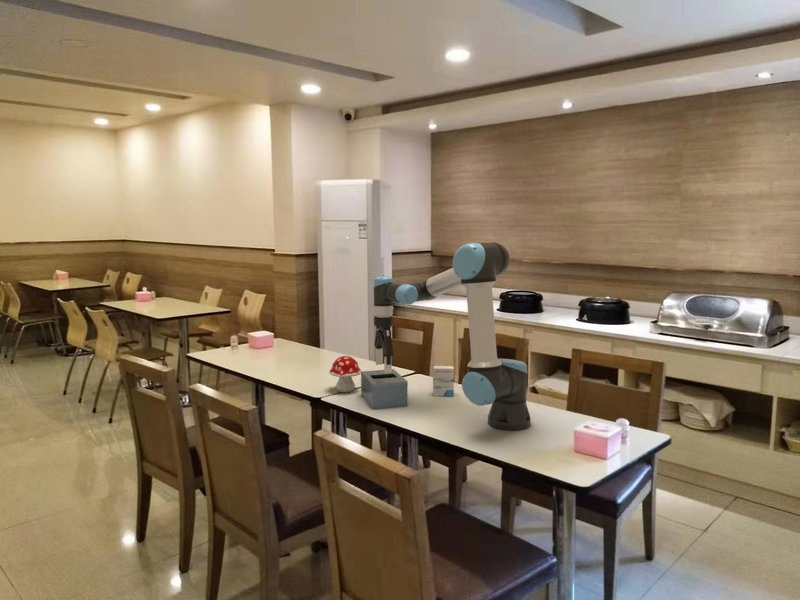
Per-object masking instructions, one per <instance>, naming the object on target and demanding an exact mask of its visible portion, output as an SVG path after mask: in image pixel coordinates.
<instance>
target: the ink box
mask: <svg viewBox="0 0 800 600" xmlns="http://www.w3.org/2000/svg"><path fill="white" fill-rule="evenodd" d="M454 370H455V367H454V366H453V365H452V366H450V365H449V366H448V365H447V366H446V365H434V366H433V370H432V372H433V373H432V377H433V378H432V396H433V397H454V395H455V393H454V392H455V391H454V388H455V387H454V385H455V383H454V382H455V374H454V373H455V371H454Z"/></svg>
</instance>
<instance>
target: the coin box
mask: <svg viewBox="0 0 800 600" xmlns="http://www.w3.org/2000/svg"><path fill="white" fill-rule="evenodd" d="M360 378H361V379H360V393H361V397H362V398H363V399H364V401H365V402H366V403H367V404H368V406H369V407H370V408H371V410H380V409H383V410H384V409H395V408H404V407H408V400H409V399H408V396H409V395H408V394H409V393H408V392H409V391H408V389H409V388H408V380H407V379H406V378H404V377H403V376H402V375H401V374H400V373H399V372H397V370H395V369H394V368H392V372H391V373H384V369H378V370H364V371H362V370H361V373H360Z"/></svg>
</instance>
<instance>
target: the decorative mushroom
mask: <svg viewBox="0 0 800 600" xmlns="http://www.w3.org/2000/svg"><path fill="white" fill-rule="evenodd" d="M361 371H362V368H360V367H359V363H358V362H357V360H356V359H355V358H353V357H351V356H349V355H342V356H340V357H339V356H338V357H337V358H336V359H335V360H334V362H333V363H332V366H331V369H330V370H329V371H328V373H329V375H331V377H338V381H337V382H336V384H335V389H336V390H337V392H339V393H343V392H347V393H352V392H353V391H354V389H355V388H356V384H355V382H354V380H353V377H357V376H359V375H360V376H361Z"/></svg>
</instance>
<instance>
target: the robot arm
mask: <svg viewBox="0 0 800 600" xmlns="http://www.w3.org/2000/svg"><path fill="white" fill-rule="evenodd" d="M510 262H511V256H510V253H509V251H508V249H507V247H505V246H504V245H503V244H501V243H499V242H492V241H491V242H471V243H470V242H469V243H466V244H463V245H461V246H459V248H458V249H457V250H456V251H455V253H454V255H453V258H452V268H449V269H448V270H445V271H443V272H440V273H437V274H436V275H434V276H431V277H429V278H427V279H424V280H422V281H417V282H416V281H414V282H407V283H394V281H393V280H394V279H393V276H392V277H391V276H377V277H374V280H373V288H372V289H373V325H374V327H375V334H374V335H375V336H374V342H373V343H374V344H373V345H374V348H375V365H376V366H380V365H384V367H383V368H384V369H383V370H384V373H391V372H392V369H393V367H392V361H393V360H392V358H393V356H394V350H393V341H392V330H389V327H392V326H393V325H394V317H393V315H394V309H395V307H394V306H393V305H394V303H395V304H400V305H404V306H406V305H408V306H409V305H413V304H414V303H416V302H423V301H432V300H435V299H436V298H438V296H440V295H442V294H443V295H444V293H447V292H450V291H453V290H455V289H457V288H460V287H463V288H464V289H465V290H466V303H467V304H466V305H467V316H468V317H467V318H468V329H469V343H470V356H471V357H470V358H471V359H470V361H469V362H468V363H467V366H466V367H467V373H466V374H465V375H464V377H463V378H462V382H461V388H462V392H463V394H464V397H465V398H466V399H468V400H469V402H470V403H471V404H473V405H476V406H481V407H482V406H483V407H484V406H488V405H491V407H490V408H489V412H488V414H487V424H488V425H489V426H490V427H493V428H495V429H498V430H505V431H521V430H526V429H528V428H530V427H531V424H532V423H531V422H532V418H531V415H530V412H529V408H528V404H527V388H528V365H527V363H525V362H524V361H522V360H516V359H513V358H512V359H511V358H510V359H509V358H498V353H497V351H498V350H497V340H496V339H497V338H496V325H495V324H496V323H495V311H494V310H495V309H494V297H493V287H494V286H495V284H496V283H497V277H496V276H500V275H502V274H503V273H505V272H506V270H507V269H508V268H509V266H510V264H511V263H510ZM383 350H384V351H383ZM383 352H384V353H383ZM383 357H384V359H383ZM383 360H384V361H383Z"/></svg>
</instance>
